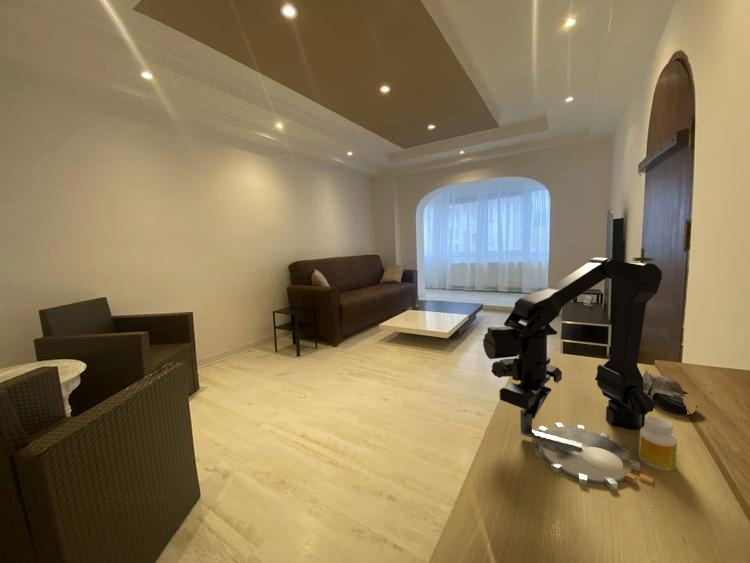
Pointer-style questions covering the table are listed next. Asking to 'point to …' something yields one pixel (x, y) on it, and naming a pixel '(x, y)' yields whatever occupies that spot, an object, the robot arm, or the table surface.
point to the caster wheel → (665, 392)
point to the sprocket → (581, 453)
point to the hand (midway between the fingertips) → (531, 417)
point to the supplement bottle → (658, 444)
